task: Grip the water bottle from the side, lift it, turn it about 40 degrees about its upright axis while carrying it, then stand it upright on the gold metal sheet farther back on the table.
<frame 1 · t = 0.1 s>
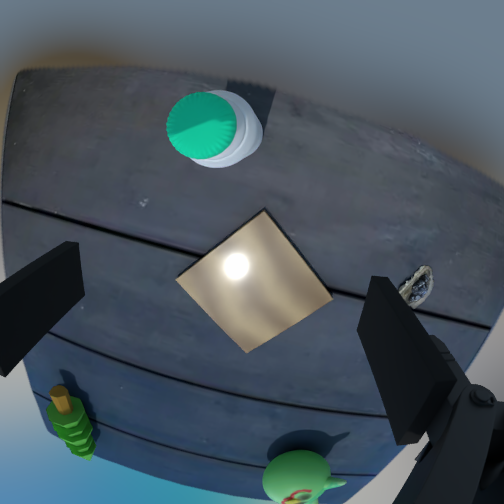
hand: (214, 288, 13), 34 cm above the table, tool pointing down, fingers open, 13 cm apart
geode: (416, 284, 49), on the table
water bottle: (238, 133, 43), on the table
gold metal sheet: (254, 287, 50), on the table
toy bird: (297, 456, 67), on the table
decorative tree: (81, 415, 68), on the table
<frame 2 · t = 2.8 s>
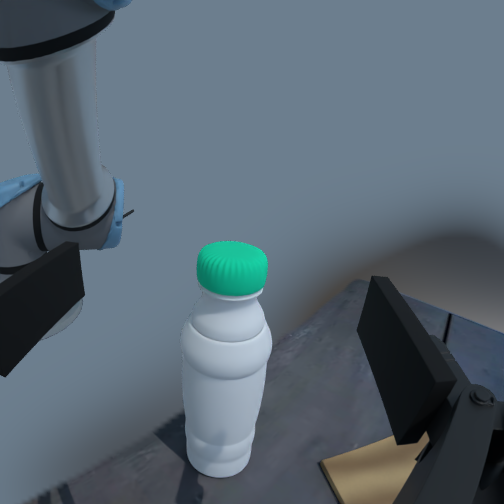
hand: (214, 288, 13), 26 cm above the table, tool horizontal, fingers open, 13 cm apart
water bottle: (218, 455, 30), on the table
gold metal sheet: (414, 492, 24), on the table
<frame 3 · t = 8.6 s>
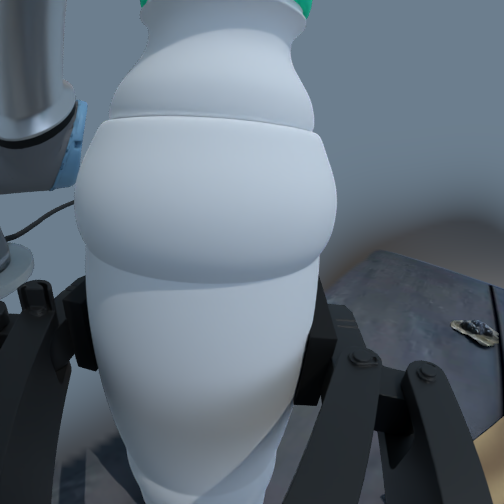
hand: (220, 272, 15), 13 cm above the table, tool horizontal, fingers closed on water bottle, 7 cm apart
geode: (473, 334, 33), on the table
water bottle: (203, 497, 15), on the table, touching gripper
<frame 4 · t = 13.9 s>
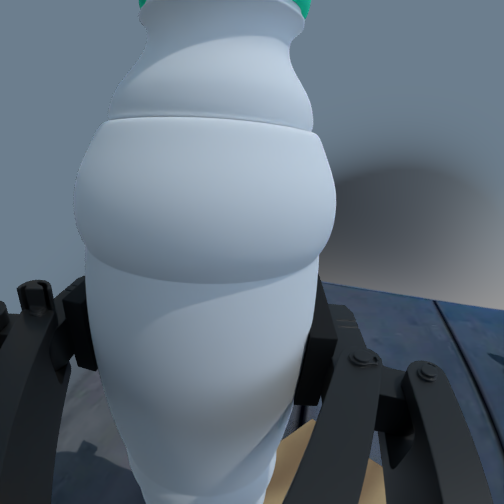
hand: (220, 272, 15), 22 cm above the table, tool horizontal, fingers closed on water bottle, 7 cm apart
water bottle: (203, 497, 15), point 9 cm above the table, touching gripper
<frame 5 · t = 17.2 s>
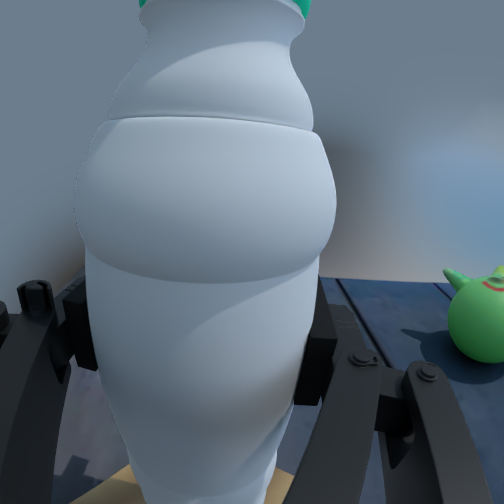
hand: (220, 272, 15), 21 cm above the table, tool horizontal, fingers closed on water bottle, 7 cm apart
water bottle: (204, 497, 15), point 8 cm above the table, touching gripper
toy bird: (475, 351, 43), on the table
when the fingers open (14 cm above the table, at t = 19.5 s): water bottle stays where it is, resting on gold metal sheet.
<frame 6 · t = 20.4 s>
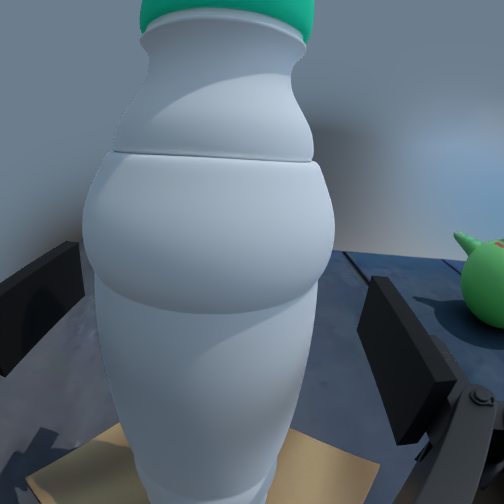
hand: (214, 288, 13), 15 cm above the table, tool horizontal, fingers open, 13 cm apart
water bottle: (207, 499, 15), point 1 cm above the table, touching gold metal sheet
gold metal sheet: (205, 503, 15), on the table
toy bird: (490, 320, 40), on the table
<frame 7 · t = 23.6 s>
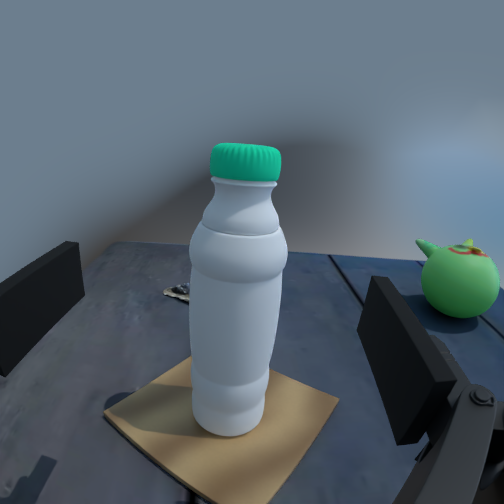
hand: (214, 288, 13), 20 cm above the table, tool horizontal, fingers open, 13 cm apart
geode: (184, 295, 54), on the table
water bottle: (227, 414, 29), point 1 cm above the table, touching gold metal sheet
gold metal sheet: (225, 418, 29), on the table
toy bird: (449, 311, 54), on the table
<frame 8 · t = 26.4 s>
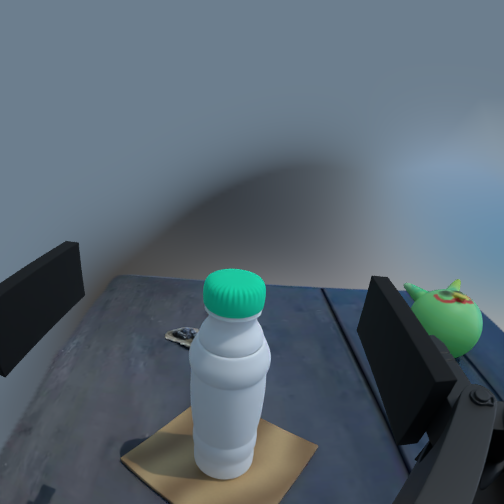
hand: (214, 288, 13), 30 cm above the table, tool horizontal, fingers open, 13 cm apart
geode: (184, 339, 57), on the table
water bottle: (223, 459, 32), point 1 cm above the table, touching gold metal sheet
gold metal sheet: (221, 462, 33), on the table
toy bird: (432, 349, 58), on the table
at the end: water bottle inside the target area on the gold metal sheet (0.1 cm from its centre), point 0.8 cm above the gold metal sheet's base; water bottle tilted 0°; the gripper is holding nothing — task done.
